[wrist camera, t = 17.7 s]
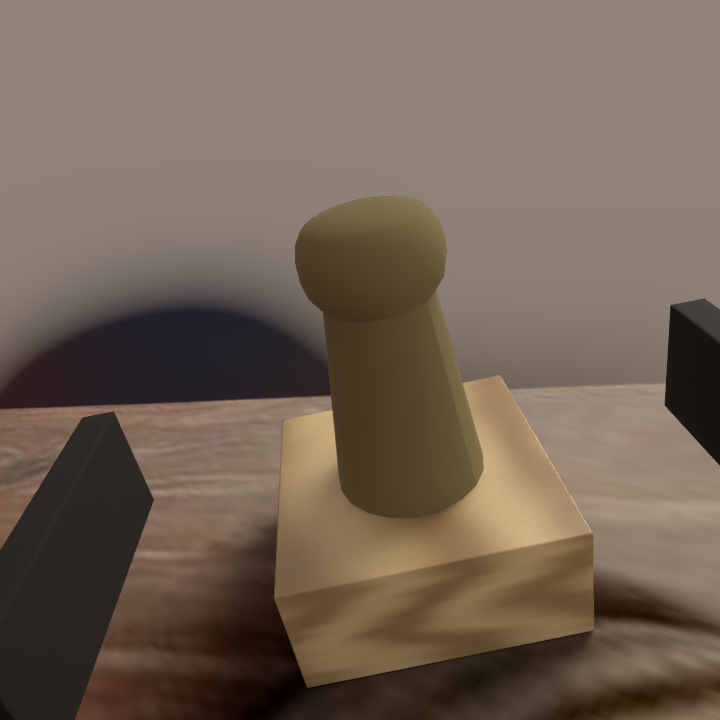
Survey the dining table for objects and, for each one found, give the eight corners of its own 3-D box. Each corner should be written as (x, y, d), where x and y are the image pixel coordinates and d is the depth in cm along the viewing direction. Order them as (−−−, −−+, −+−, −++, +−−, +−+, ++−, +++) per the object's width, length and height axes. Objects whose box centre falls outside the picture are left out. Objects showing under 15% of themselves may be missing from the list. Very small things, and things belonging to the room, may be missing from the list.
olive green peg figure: (311, 470, 26) (241, 223, 21) (417, 407, 29) (377, 174, 24) (400, 543, 22) (337, 249, 17) (516, 460, 25) (492, 185, 19)
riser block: (306, 688, 23) (273, 598, 21) (305, 496, 33) (282, 419, 31) (594, 631, 23) (593, 533, 21) (507, 454, 33) (500, 374, 30)
